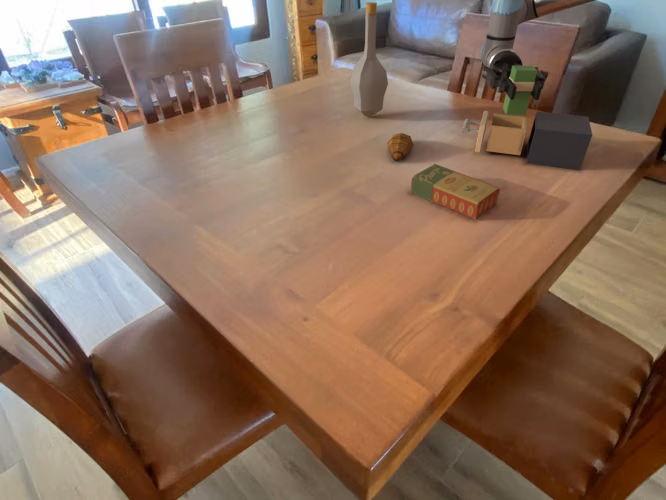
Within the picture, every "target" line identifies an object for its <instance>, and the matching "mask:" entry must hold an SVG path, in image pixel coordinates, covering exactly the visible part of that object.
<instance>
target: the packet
mask: <svg viewBox="0 0 666 500" xmlns="http://www.w3.org/2000/svg"><path fill="white" fill-rule="evenodd" d="M534 67H535V66H533V65H523V66H512V70H511V74H510V77H509V79H511V80H512V82H513V83H514V84H515V85H516V87H517V89H516V93H515V97H514V100H510V98H509V97H508V95H507V94H506V93H505V97H504V101H503V107H502V111H504V114H505V115H513V116H526V115H527V112H528V108H529V105H530V101H531V97H532V95H531V93H532V90H533V87H534V83H535V78H536V74H537V70H536V69H535V68H534Z"/></svg>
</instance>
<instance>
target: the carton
mask: <svg viewBox="0 0 666 500" xmlns="http://www.w3.org/2000/svg"><path fill="white" fill-rule="evenodd" d="M500 191H501V188H500V187H499V186H496V185H494V184H491V183H489V182H486V181H483V180H480V179H477V178H475V177H471V176H469V175H466V174H464V173H461V172H458V171H456V170H453V169H450V168H448V167H444V166H442V165H438V164H436V163H433V164H431V165H430V166H428V167H427V168H425V169H423V170H422V171H419V172H417V173H416V174H414V175H412V176H411V184H410V192H411V194H414V195H417V196H419V197H421V198H423V199H426V200H428V201H429V202H432V203H435V204H437V205H440V206H442V207H445V208H447V209H449V210H452V211H454V212H456V213H459V214H461V215H463V216H464V217H465V216H466V217H467V218H470V219H472V220H476V219H478V218H479V217H481V216H482V215H483V214H484V213H486V212H487V211H489V210H491V209H492V208H493V207H495V206H496V205H497V204H498V200H499V195H500Z"/></svg>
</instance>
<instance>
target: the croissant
mask: <svg viewBox="0 0 666 500" xmlns="http://www.w3.org/2000/svg"><path fill="white" fill-rule="evenodd" d="M386 145H387V148H388V152H389V154H390V157H391V159H392V160H393V161H394V162H401V161H402V160H403V159H404V158H405V157H406V156H407V155H408V153H410V151H411V150H412V148H413V147H414V145H415V144H414V141H413V139H412V136H411V135H409V134H405V133H402V132H400V133H396V134H392V135H391V137H390V138H389V139H388V141H387V142H386Z"/></svg>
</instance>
